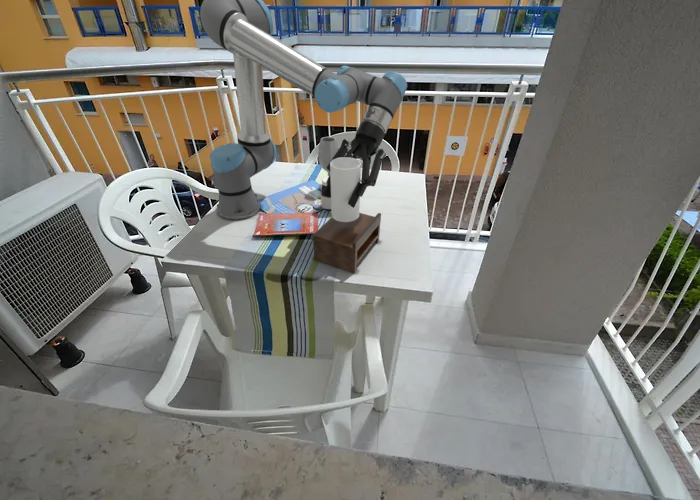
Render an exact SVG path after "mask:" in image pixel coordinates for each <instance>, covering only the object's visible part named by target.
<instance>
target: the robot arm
mask: <svg viewBox="0 0 700 500" xmlns="http://www.w3.org/2000/svg"><path fill="white" fill-rule="evenodd" d="M199 16H200V23H201V25H202V28H203V30H204V31H205V33H206V34H207V36H208V37H209V38H210V39H211V40H212V41H213V42H214V43H215V44H216V45H218V46H219V47H220V48H222V49H224V50H226V51H227V52H229V53H231V54H233V66H234V75H235V84H236V85H235V86H236V95H237V106H238V115H239V123H240V124H239V125H240V131H239V132H238V133H236V134H237V135H236V137H237V139H236V140H237V143H235V142H231V143H230V142H229V143H226V144H221V145H219V146H217V147H215V148H213V149H212V151H211V152H210V155H209V160H210V168H211V170H212V173H213V177H214V179H215V184H216V187H217V190H218V191H217V192H218V204H216V207H217V211H218V214H219V216H220V217H222V218H224V219H226V220H232V221H237V220H244V219H247V218H251V217H253V216H255V215H256V214H258V213H259V211H261V203H260V200H259V198H258V195H257V194H256V193H255V191H254V189H253V185H252V182H251V178H253V177H254V176H255V175H257V174H259V173H260V172H262V171H263V170H266V169H268V168H270V167H271V165H273V164H274V163H275V161H276V159H277V154H278V153H277V147H276V144H274V140H272V138H271V135H270V134H269V133H268V132H267V131H266V114H265V112H266V111H265V95H264V94H265V93H264V92H265V91H264V73H263V68H264V69H266V70H267V71H269V72H271V73H272V74H274V75H275V76H278V77H279V78H280V79H282V80H284V81H286V82H287V83H290V84H291V85H292V86H294V87H296V88H298V89H299V90H301V91H302V92H305V93H306V94H308V95H309V96H310V97H313V98H314V99H315V102H316V104H317V105H318V107H319V108H320V110H322V111H323V112H326V113H336V112H340V111H342V110H344V109H345V108H347V107H349V106H350V105H352V104H354V103H357V102H359V103H362V104H364V105H367V106H368V108H367V110H366V112H365V114H364V115H363V117H362V121H361V122H360V124H359V125H358V128H357V130H356V133H355V137H354V138H353V139H352V140H351V141H350V140H347V139H346V138H344V139H342V141H341V144H340V147H338V148H339V150H338V151H337V153H336V154H335V155H334V157H333V158H332V160H334V159H336V158H342V157H349V158H354V159H357V160H362V163H361V178H360V182H358V183H357V185H356V187H355V189H354V191H353V194H352V196H351V198H350V200H349V202H348V204H349V205H350V206H351V207H353V208H354V207H355V205H356V203H357V201H358V199H359V196H360V198H362V197H363V195H365V192H366V189H367V188H368V187H375V186H376V183H377V180H378V178H379V177H378V176H379V173H380V169H381V166H382V163H383V161H384V159H385V158H386V156H387V154H386V152H385V150H384V149H383V148H379V147H380V146H381V145H382V142H383V140H384V138H385V136H386V134H387V131H388V129H390V126H391V123H392V121H393V119H394V117H395V114H396V113H397V111H398V109H399V107H400V105H401V103H402V101H403V98H404V96H405V93H406V91H407V90H408V89H407V88H408V82H407V80H406V78H405V77H404V76H403V75H402V74H401V73H399V72H397V71H394V70H393V71H388V70H387V71H386V72H385V73H384V74H383V75H382V76H381V77H380V76H375V75H373V74H371V73H368V72H365V71H362V70H360V69H358V68H356V67H354V66H348V65H342V66H341V67H339V69H338V70H337V71H336V72H333V71H332V70H330V69H328V68H327V67H325V66H324V65H321V64H320V63H319V62H317V61H315V60H313V59H312V58H310V57H308V56H306V55H305V54H303V53H301V52H300V51H298V50H296V49H295V48H294V47H291V46H290V45H288V44H286V43H284V42H283V41H282V40H279V39H278V38H276V37H274V36H273V35H272V34H273V29H274V23H273V16H272V13H271V11H270V9H269V7H268V6H267V5H266V3H265V2H264V0H203V1H202V3H201V5H200V11H199ZM373 156H374V158H373V163H372V157H373ZM332 160H331V161H332ZM331 161H330V162H331ZM371 164H372V165H371ZM327 169H328V170H329V171H330V163H329V164H328V166H327ZM326 183H327V186H326V188H325V190H324V192H323V195H325V196H326V197H327V198H329V197H330V195H331V180H330V175H329V177H328V180H327V182H326Z"/></svg>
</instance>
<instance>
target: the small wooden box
mask: <svg viewBox="0 0 700 500" xmlns="http://www.w3.org/2000/svg"><path fill="white" fill-rule="evenodd" d="M381 220H382V213H381V212H377V214H376V215H375V216H373V215H370V214H367V213H363V212H359V217H358V218H357V219H356V220H354V221H351V222H340V221H337V220H335V219H333V217H332V216H331V217H330V218H329V219H328V220H327V221H325V223H324V224H323V225H322V226H320V227H319V228H318V229H317V230H316V232H314V233H313V234H312V245H313V246H312V247H313V257H314V258H313V259H314V260H316V261H319V262H322V263H325V264H327V265H331V266H332V267H333V266H334V267H336V268H339V269H342V270H345V271H347V272H351V273H353V274H356V273H357V270H358V269H357V268H358V267H357V266H358V263H359V262H360V261H361V260H362V259H363V257H364V256H365V255H366V253H367V252H368V251H369V250H370V248H371V247H372V246H373V244H374V243H375V244H378V243H379V242H380V234H381Z"/></svg>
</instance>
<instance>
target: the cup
mask: <svg viewBox="0 0 700 500" xmlns="http://www.w3.org/2000/svg"><path fill="white" fill-rule="evenodd" d="M361 177H362V163H361V161H360V159H358V158H356V159H354V158H349V157H342V158H336V159H334V160H332V161H331V162H330V180H331V212H330V213H331V218H332V217H333V219H335V220H337V221H340V222H351V221H354V220H356V219H357V218H358V217H359V213H360V207H361V206H360V204H361V203H360V202H361V197H360V196H359V199H358V201H357V203H356V205H355V207H354V208H353V207H351V206H350V205H349V204H348V202H349V200H350V198H351V196H352V194H353V191H354V189H355V187H356V185H357V183H358V182H360V183H361V181H360V180H361Z"/></svg>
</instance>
